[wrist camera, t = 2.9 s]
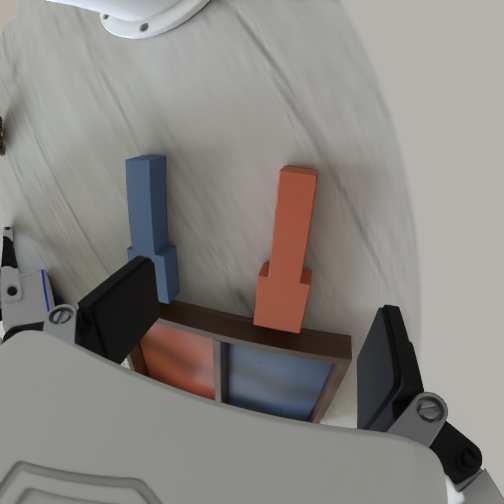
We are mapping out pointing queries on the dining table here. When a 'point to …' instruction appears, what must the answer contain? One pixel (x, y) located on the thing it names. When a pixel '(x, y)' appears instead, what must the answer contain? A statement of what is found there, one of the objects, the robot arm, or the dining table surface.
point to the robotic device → (22, 290)
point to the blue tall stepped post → (151, 221)
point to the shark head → (0, 144)
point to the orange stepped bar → (287, 254)
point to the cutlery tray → (243, 361)
